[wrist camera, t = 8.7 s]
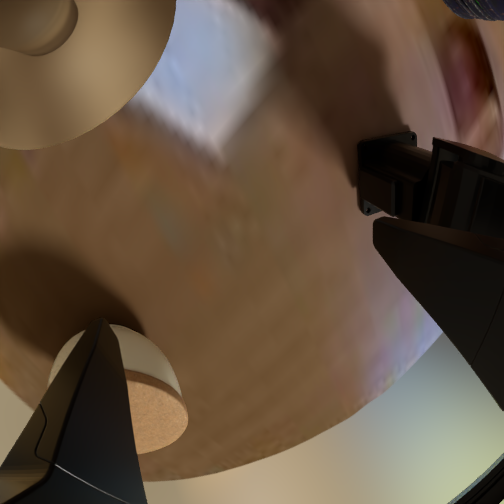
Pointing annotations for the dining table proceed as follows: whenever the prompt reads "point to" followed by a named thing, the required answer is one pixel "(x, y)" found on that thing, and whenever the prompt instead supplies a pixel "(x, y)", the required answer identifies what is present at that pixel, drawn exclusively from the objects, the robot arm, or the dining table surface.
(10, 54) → the lid
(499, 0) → the storage jar
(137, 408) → the lidded jar
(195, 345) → the dining table surface
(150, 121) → the dining table surface
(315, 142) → the dining table surface
